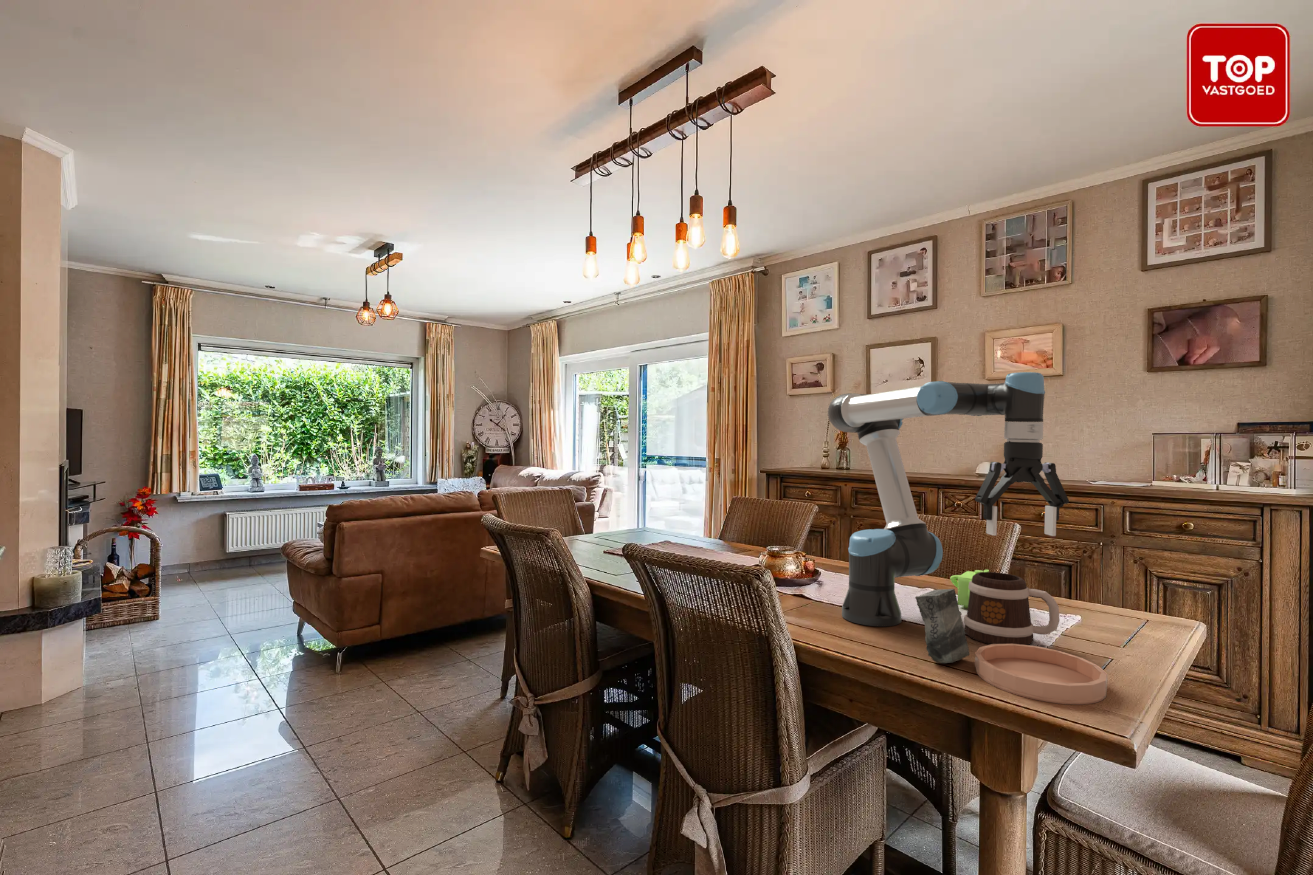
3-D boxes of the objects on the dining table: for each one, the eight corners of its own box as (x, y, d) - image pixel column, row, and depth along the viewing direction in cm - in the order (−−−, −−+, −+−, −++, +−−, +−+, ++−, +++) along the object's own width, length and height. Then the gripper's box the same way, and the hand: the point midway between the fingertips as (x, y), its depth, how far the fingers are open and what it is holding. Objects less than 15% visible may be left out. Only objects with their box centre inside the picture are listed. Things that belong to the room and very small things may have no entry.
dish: (964, 682, 120) (964, 664, 120) (988, 652, 136) (988, 636, 136) (1102, 715, 105) (1102, 695, 105) (1110, 677, 122) (1110, 660, 122)
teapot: (970, 615, 165) (970, 576, 165) (940, 602, 178) (940, 566, 178) (1020, 613, 167) (1020, 575, 167) (987, 600, 181) (987, 565, 181)
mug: (958, 640, 145) (959, 577, 145) (968, 624, 157) (968, 566, 157) (1058, 658, 133) (1058, 590, 133) (1060, 639, 146) (1060, 577, 146)
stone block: (928, 664, 129) (952, 665, 125) (911, 596, 132) (934, 594, 128) (949, 655, 135) (972, 655, 131) (932, 589, 138) (954, 587, 134)
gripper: (978, 440, 132) (976, 537, 133) (1089, 442, 133) (1086, 538, 133) (960, 439, 140) (957, 531, 140) (1065, 441, 141) (1062, 532, 141)
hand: (1020, 534), depth 137 cm, fingers open, 13 cm apart
